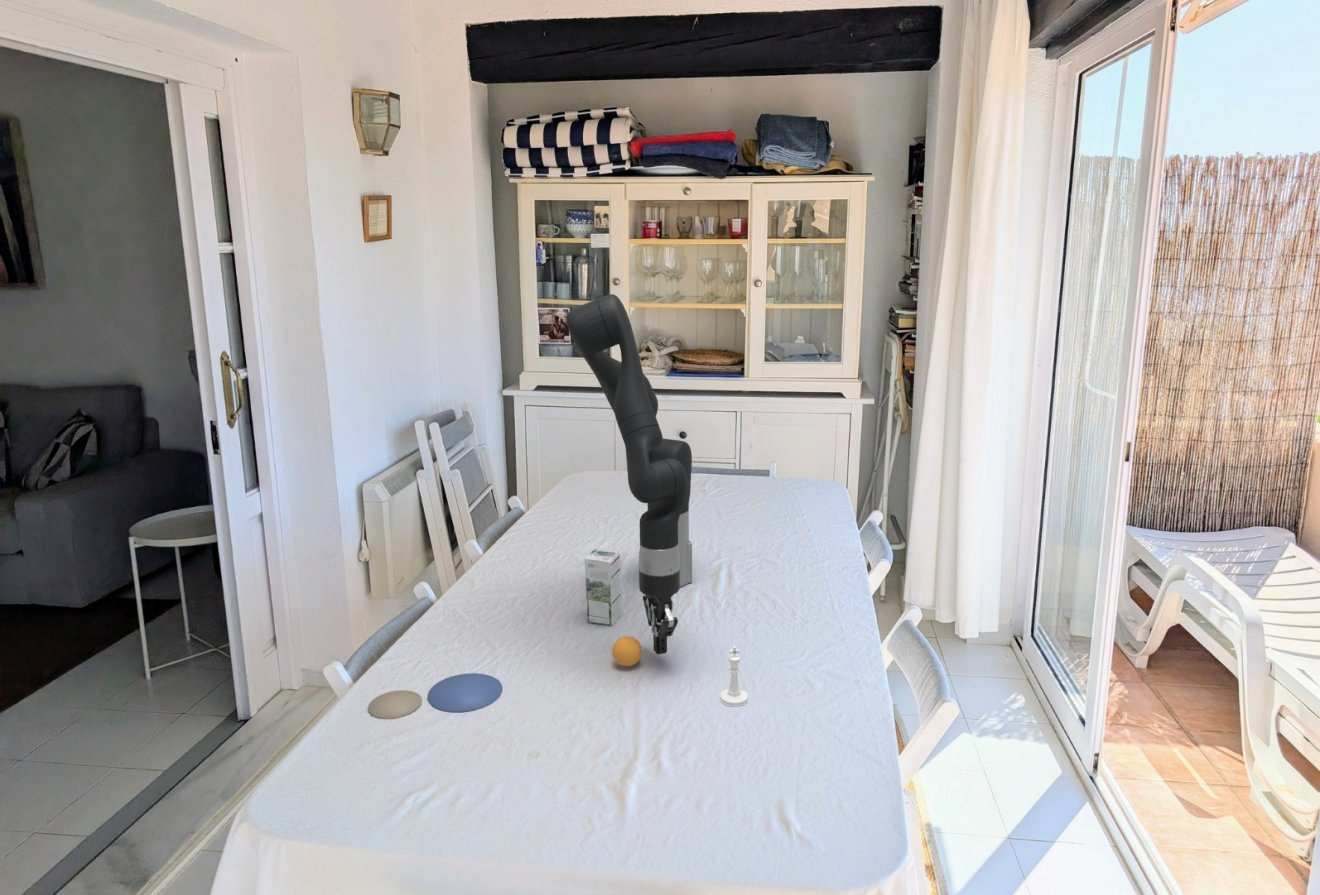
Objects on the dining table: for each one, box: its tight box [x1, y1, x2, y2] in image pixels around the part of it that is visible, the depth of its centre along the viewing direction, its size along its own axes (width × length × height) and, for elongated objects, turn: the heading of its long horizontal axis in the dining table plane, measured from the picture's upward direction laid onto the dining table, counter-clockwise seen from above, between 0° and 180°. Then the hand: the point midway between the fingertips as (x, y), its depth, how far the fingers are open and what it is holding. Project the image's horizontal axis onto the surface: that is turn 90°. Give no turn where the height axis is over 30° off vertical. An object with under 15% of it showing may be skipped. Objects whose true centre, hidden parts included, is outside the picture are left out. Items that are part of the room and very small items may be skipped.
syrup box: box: [584, 548, 623, 627], centre depth 188 cm, size 6×6×14 cm
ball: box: [611, 635, 643, 667], centre depth 171 cm, size 6×6×6 cm
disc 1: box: [367, 689, 423, 720], centre depth 158 cm, size 9×9×1 cm
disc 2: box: [427, 672, 503, 713], centre depth 162 cm, size 13×13×1 cm
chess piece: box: [719, 645, 749, 708], centre depth 158 cm, size 5×5×10 cm
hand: (660, 652), depth 172 cm, fingers closed
